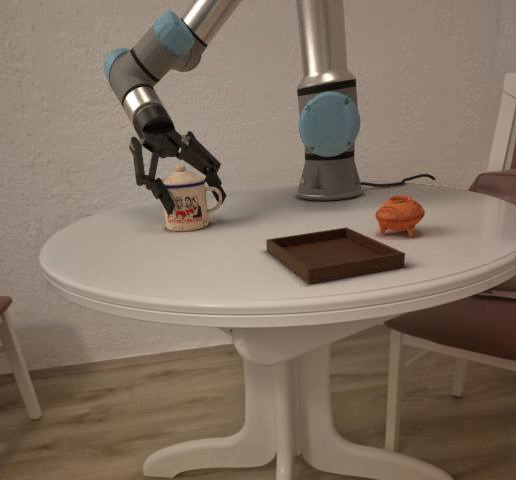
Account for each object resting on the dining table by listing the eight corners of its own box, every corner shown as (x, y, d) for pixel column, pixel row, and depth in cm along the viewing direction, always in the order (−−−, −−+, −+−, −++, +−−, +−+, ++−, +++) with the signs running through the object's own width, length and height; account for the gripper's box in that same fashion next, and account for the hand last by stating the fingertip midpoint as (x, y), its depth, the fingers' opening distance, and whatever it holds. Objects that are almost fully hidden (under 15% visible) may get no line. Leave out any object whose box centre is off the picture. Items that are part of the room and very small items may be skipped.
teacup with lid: (162, 233, 93) (153, 170, 88) (167, 223, 101) (159, 164, 96) (224, 228, 94) (218, 165, 88) (224, 218, 102) (219, 160, 96)
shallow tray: (346, 239, 81) (346, 227, 80) (404, 267, 66) (405, 253, 65) (266, 251, 77) (266, 239, 76) (308, 284, 63) (308, 269, 62)
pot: (436, 231, 80) (434, 192, 76) (400, 250, 78) (396, 211, 74) (402, 221, 86) (398, 185, 83) (368, 239, 84) (363, 202, 81)
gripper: (194, 128, 107) (240, 207, 103) (91, 137, 95) (139, 228, 90) (203, 100, 101) (253, 183, 96) (95, 106, 88) (147, 202, 84)
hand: (198, 205), depth 93 cm, fingers closed on teacup with lid, 11 cm apart
